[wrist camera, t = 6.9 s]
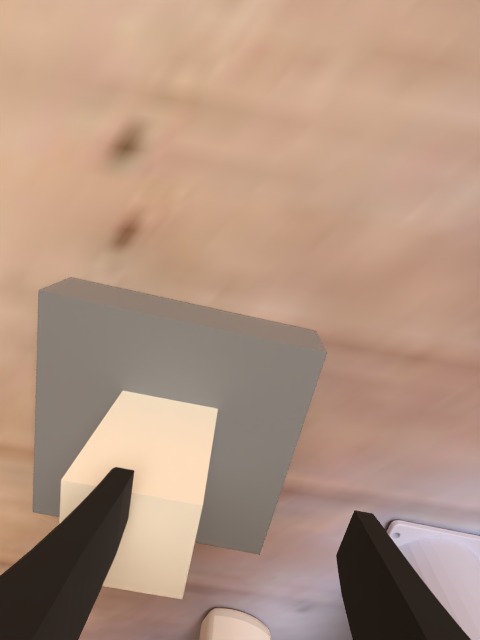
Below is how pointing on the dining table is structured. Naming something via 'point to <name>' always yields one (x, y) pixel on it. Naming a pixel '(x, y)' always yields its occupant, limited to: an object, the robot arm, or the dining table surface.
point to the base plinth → (175, 392)
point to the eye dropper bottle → (232, 626)
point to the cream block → (149, 486)
